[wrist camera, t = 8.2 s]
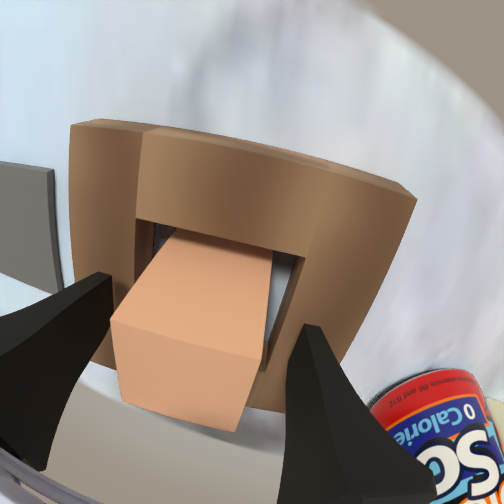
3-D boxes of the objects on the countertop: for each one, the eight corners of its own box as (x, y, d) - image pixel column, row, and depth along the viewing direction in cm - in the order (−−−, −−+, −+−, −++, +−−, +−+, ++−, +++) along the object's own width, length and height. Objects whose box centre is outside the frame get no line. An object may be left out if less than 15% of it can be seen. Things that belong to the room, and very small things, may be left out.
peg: (171, 302, 15) (122, 401, 9) (177, 226, 13) (110, 319, 7) (253, 322, 15) (234, 432, 9) (273, 249, 13) (261, 359, 7)
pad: (-11, 261, 15) (-16, 265, 15) (-25, 158, 12) (-31, 160, 11) (63, 291, 15) (59, 296, 15) (53, 169, 12) (46, 172, 11)
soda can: (410, 436, 19) (430, 603, 6) (338, 416, 18) (339, 633, 4) (489, 376, 15) (546, 560, 2) (430, 340, 14) (495, 610, 1)
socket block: (103, 336, 16) (87, 362, 14) (99, 118, 11) (67, 125, 9) (306, 388, 16) (307, 419, 15) (398, 182, 11) (419, 201, 9)
